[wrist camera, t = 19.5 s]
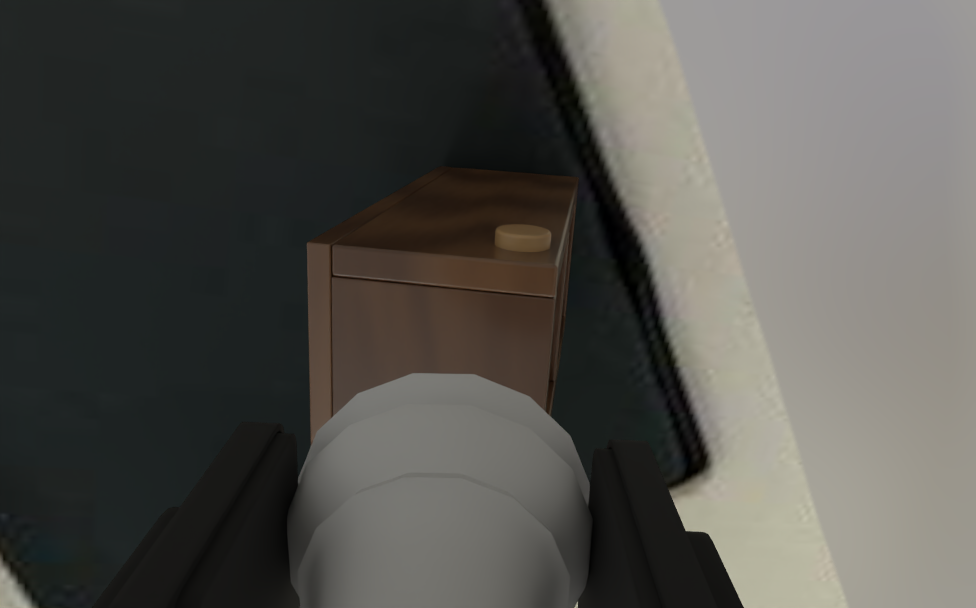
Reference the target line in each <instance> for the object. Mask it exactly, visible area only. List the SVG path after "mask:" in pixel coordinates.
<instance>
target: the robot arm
mask: <svg viewBox="0 0 976 608" xmlns="http://www.w3.org/2000/svg"><path fill="white" fill-rule="evenodd" d="M297 487H298V472H297V443H296V437H295V435H294V434H286V433H284V429H283V426H282V424H279V423H258V422H242V423H241V424H240V425H239V426H238V427H237V429H236V430H235V431H234V433H233V434H232V436H231V437H230V438H229V440H228V441H227V443H226V444H225V445H224V447H223V448H222V450H221V451H220V452H219V454H218V455H217V456H216V458H215V459H214V461H213V462H212V463H211V465H210V466H209V468H208V469H207V470H206V472H205V473H204V475H203V476H202V477H201V479H200V480H199V481H198V483H197V484H196V486H195V487H194V488H193V490H192V491H191V493H190V494H189V495H188V497H187V498H186V500H185V501H184V502H183V504H182V505H181V506H180V507H172V508H168V509H167V510H166V511H165V512H164V513H163V514H162V515H161V516H160V518H159V519H158V520H157V522H156V523H155V524H154V526H153V527H152V528H151V530H150V531H149V532H148V534H147V535H146V536H145V538H144V539H143V540H142V542H141V543H140V544H139V546H138V547H137V548H136V550H135V551H134V552H133V554H132V555H131V556H130V558H129V559H128V560H127V562H126V563H125V564H124V566H123V567H122V568H121V570H120V571H119V572H118V574H117V575H116V576H115V578H114V579H113V580H112V582H111V583H110V584H109V586H108V587H107V588H106V590H105V591H104V592H103V594H102V595H101V596H100V598H99V599H98V600H97V602H96V603H95V604H94V606H93V607H92V608H298V607H299V602H300V598H299V596H298V594H297V592H296V591H295V589H294V587H293V585H292V583H291V577H290V564H289V551H288V538H287V515H288V510H289V507H290V505H291V502H292V500H293V497H294V495H295V492H296V490H297ZM588 508H589V511H590V513H591V516H592V518H593V525H592V539H591V551H590V563H589V574H588V578H587V583H586V587H585V589H584V591H583V593H582V594H581V596H580V598H579V600H578V608H744V607H743V605H742V603H741V601H740V599H739V597H738V595H737V592H736V590H735V588H734V586H733V584H732V582H731V580H730V578H729V575H728V573H727V571H726V569H725V567H724V565H723V563H722V560H721V558H720V556H719V554H718V552H717V550H716V548H715V545H714V543H713V541H712V540H711V538H710V537H709V535H708V534H706V533H704V532H690V531H685V528H684V526H683V524H682V521H681V519H680V517H679V514H678V512H677V509H676V507H675V505H674V502H673V500H672V497H671V495H670V493H669V490H668V488H667V486H666V483H665V481H664V478H663V476H662V474H661V471H660V469H659V467H658V464H657V462H656V459H655V457H654V455H653V452H652V450H651V447H650V445H649V443H648V442H647V441H630V440H609V442H608V445H607V449H597V448H596V449H595V451H594V456H593V464H592V473H591V483H590V492H589V502H588Z"/></svg>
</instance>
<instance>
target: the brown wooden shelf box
mask: <svg viewBox="0 0 976 608" xmlns="http://www.w3.org/2000/svg"><path fill="white" fill-rule="evenodd" d="M578 182H579V179H578V177H570V176H557V175H544V174H531V173H519V172H506V171H493V170H481V169H468V168H453V167H444V166H440V167H438V168H436V169H434V170H433V171H431V172H429V173H427V174H426V175H424V176H422V177H420V178H419V179H417V180H415V181H413V182H412V183H410V184H408V185H407V186H405V187H403V188H401V189H400V190H398V191H396V192H394V193H393V194H391V195H389V196H387V197H386V198H384V199H382V200H380V201H379V202H377V203H375V204H373V205H372V206H370V207H368V208H366V209H365V210H363V211H361V212H359V213H358V214H356V215H354V216H353V217H351V218H349V219H347V220H346V221H344V222H342V223H340V224H339V225H337V226H335V227H333V228H332V229H330V230H328V231H326V232H325V233H323V234H321V235H319V236H318V237H316V238H314V239H312V240H311V241H309V242H307V271H308V322H309V372H310V422H311V445H312V443H313V440H314V438H315V435H316V433H317V431H318V430H319V429H320V428H321V427H322V426H323V425H324V424H326V423H327V422H328V421H329V420H330V419H331V418H332V417H333V416H334V415H335V414H336V413H337V412H338V411H339V410H341V409H342V408H343V407H344V406H345V405H346V404H347V403H348V402H349V401H350V400H351V399H352V398H353V397H354V396H356V395H357V394H358V393H360V392H363V391H366V390H369V389H371V388H374V387H377V386H380V385H382V384H385V383H388V382H390V381H393V380H396V379H399V378H401V377H404V376H407V375H409V374H412V373H434V374H475V375H477V376H480V377H482V378H485V379H487V380H490V381H492V382H495V383H497V384H500V385H502V386H505V387H507V388H510V389H512V390H515V391H517V392H520V393H522V394H525V395H527V396H530V397H531V398H532V399H533V400H534V401H535V402H536V403H537V404H538V405H539V406H540V407H541V408H542V409H543V410H544V411H545V412H546V413H547V414H548V415H549V416H550V417H551V414H552V407H553V401H554V394H555V387H556V381H557V374H558V368H559V361H560V355H561V348H562V341H563V335H564V328H565V318H566V308H567V297H568V287H569V276H570V266H571V255H572V245H573V234H574V224H575V214H576V203H577V193H578Z"/></svg>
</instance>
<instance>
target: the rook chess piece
mask: <svg viewBox="0 0 976 608" xmlns="http://www.w3.org/2000/svg"><path fill="white" fill-rule="evenodd" d="M589 490H590V484H589V481H588V479H587V476H586V474H585V471H584V469H583V466H582V464H581V461H580V459H579V456H578V454H577V451H576V449H575V446H574V444H573V441H572V439H571V436H570V435H569V434H568V433H567V432H566V431H565V430H564V429H563V428H562V427H561V426H560V425H559V424H558V423H557V422H556V421H555V420H553V419H552V418H551V417H550V416H549V415H548V414H547V413H546V412H545V411H544V410H543V409H542V408H541V407H540V406H539V405H538V404H537V403H536V402H535V401H534V400H533V399H532V398H531V397H530V396H527V395H525V394H522V393H520V392H517V391H515V390H512V389H510V388H507V387H505V386H502V385H500V384H497V383H495V382H492V381H490V380H487V379H485V378H482V377H480V376H477V375H475V374H434V373H412V374H409V375H407V376H404V377H401V378H399V379H396V380H393V381H390V382H388V383H385V384H382V385H380V386H377V387H374V388H371V389H369V390H366V391H363V392H360V393H358V394H357V395H356V396H354V397H353V398H352V399H351V400H350V401H349V402H348V403H347V404H346V405H345V406H344V407H343V408H342V409H341V410H339V411H338V412H337V413H336V414H335V415H334V416H333V417H332V418H331V419H330V420H329V421H328V422H327V423H326V424H324V425H323V426H322V427H321V428H320V429H319V430H318V431H317V433H316V435H315V438H314V440H313V443H312V445H311V448H310V450H309V453H308V455H307V458H306V460H305V463H304V465H303V468H302V470H301V473H300V475H299V478H298V487H297V490H296V492H295V495H294V497H293V500H292V502H291V505H290V507H289V510H288V515H287V538H288V551H289V564H290V577H291V583H292V585H293V587H294V589H295V591H296V592H297V594H298V596H299V598H300V608H574V607H575V605H576V603H577V601H578V600H579V598H580V596H581V594H582V593H583V591H584V589H585V587H586V583H587V578H588V574H589V563H590V551H591V539H592V525H593V518H592V516H591V513H590V511H589V508H588V502H589Z"/></svg>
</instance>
